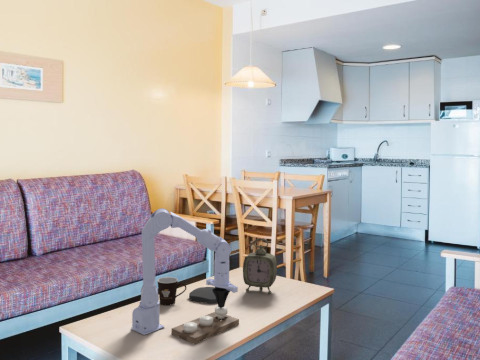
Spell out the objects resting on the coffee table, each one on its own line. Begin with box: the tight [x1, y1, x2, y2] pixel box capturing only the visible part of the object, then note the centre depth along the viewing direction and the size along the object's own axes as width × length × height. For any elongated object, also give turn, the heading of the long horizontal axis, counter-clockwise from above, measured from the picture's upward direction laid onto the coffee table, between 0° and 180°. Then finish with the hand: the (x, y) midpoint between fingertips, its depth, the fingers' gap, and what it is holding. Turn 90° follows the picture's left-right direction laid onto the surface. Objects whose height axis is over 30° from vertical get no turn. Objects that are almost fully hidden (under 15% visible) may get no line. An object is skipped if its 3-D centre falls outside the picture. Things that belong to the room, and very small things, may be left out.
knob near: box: [183, 321, 197, 333], centre depth 158 cm, size 5×5×4 cm
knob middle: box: [199, 315, 213, 327], centre depth 164 cm, size 5×5×4 cm
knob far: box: [214, 305, 228, 319], centre depth 170 cm, size 5×5×4 cm
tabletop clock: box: [242, 238, 278, 295], centre depth 207 cm, size 14×9×25 cm, turn 73°
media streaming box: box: [188, 286, 218, 305], centre depth 199 cm, size 15×15×3 cm
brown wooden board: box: [171, 311, 240, 345], centre depth 164 cm, size 23×12×2 cm, turn 139°
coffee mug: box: [156, 276, 187, 306], centre depth 190 cm, size 12×9×10 cm
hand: (221, 306), depth 170 cm, fingers closed
